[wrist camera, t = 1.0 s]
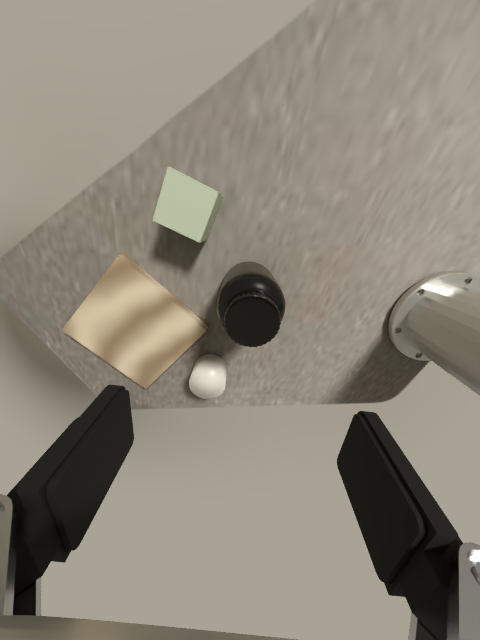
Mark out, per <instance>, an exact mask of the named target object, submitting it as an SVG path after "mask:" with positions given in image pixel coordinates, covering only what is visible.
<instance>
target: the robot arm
mask: <svg viewBox="0 0 480 640" xmlns="http://www.w3.org/2000/svg"><path fill="white" fill-rule="evenodd" d="M388 330H389V336H390V339H391V342H392V343H393V345H394V346H395V347H396V348H397V349H398V350H399V351H400V352H401V353H403V354H404V355H405V356H407V357H409V358H412V359H415V360H420V361H433V362H434V363H436V364H437V365H438V366H440V367H441V368H443V369H444V370H445V371H447V372H448V373H449V374H451V375H452V376H454V377H455V378H456V379H458V380H459V381H460V382H462V383H463V384H464V385H466V386H468V387H469V388H470V389H471V390H473V391H474V392H476V393H477V394H478V395H480V278H479V277H477V276H474V275H471V274H467V273H462V272H444V273H438V274H435V275H432V276H429V277H427V278H425V279H423V280H421V281H419V282H418V283H417V284H415V285H414V286H412V287H411V288H410V289H409V290H408V291H407V292H405V293H404V294H403V295H402V297H401V298H400V299H399V300H398V302H397V303H396V305H395V307H394V309H393V310H392V313H391V316H390V319H389V325H388ZM133 440H134V434H133V424H132V416H131V406H130V397H129V391H128V390H125V387H124V386H117V385H108V386H107V387H106V388H105V389H104V390H103V391H102V392H101V393H100V394H99V396H98V397H97V398H96V399H95V400H94V401H93V402H92V403H91V405H90V406H89V407H88V408H87V409H86V410H85V412H84V413H83V414H82V415H81V416H80V417H79V418H77V419H75V420H74V421H73V422H72V423H71V424H70V425H69V426H68V428H67V429H66V430H65V431H64V432H63V433H62V434H61V436H60V437H59V438H58V439H57V440H56V441H55V442H54V443H53V445H52V446H51V447H50V448H49V449H48V450H47V451H46V452H45V453H44V454H43V456H42V457H41V458H40V459H39V460H38V461H37V462H36V463H35V464H34V466H33V467H32V468H31V469H30V470H29V471H28V472H27V473H26V475H25V476H24V477H23V478H22V479H21V480H20V481H19V483H18V484H17V485H16V486H15V487H14V488H13V489H12V490H11V491H10V492H9V494H8V495H7V496H5V495H0V640H295V639H286V638H276V637H265V636H255V635H246V634H236V633H226V632H216V631H206V630H196V629H186V628H175V627H165V626H154V625H143V624H131V623H121V622H111V621H101V620H89V619H75V618H61V617H47V616H41V576H42V575H43V573H44V572H45V570H46V569H47V567H48V565H49V563H50V562H51V561H56V562H65V561H66V559H67V557H68V555H69V554H70V552H71V550H75V549H76V548H77V547H78V546H79V544H80V543H81V541H82V539H83V537H84V535H85V533H86V531H87V529H88V528H89V526H90V524H91V522H92V520H93V518H94V516H95V514H96V513H97V510H98V509H99V507H100V505H101V503H102V501H103V499H104V497H105V495H106V494H107V492H108V490H109V488H110V486H111V484H112V482H113V480H114V478H115V477H116V475H117V473H118V471H119V469H120V467H121V465H122V463H123V461H124V460H125V458H126V456H127V454H128V452H129V450H130V448H131V446H132V444H133ZM337 465H338V469H339V472H340V475H341V477H342V480H343V483H344V486H345V488H346V491H347V494H348V497H349V499H350V502H351V505H352V508H353V510H354V513H355V516H356V519H357V521H358V524H359V527H360V529H361V532H362V535H363V538H364V540H365V543H366V546H367V548H368V551H369V554H370V557H371V560H372V562H373V565H374V568H375V571H376V573H377V575H378V577H379V579H380V580H381V581H382V582H384V583H385V586H386V589H387V591H388V594H389V595H392V596H403V597H406V599H407V602H408V604H409V606H410V609H411V611H412V613H411V621H410V629H409V637H408V640H480V545H478V544H475V543H464V544H463V542H462V541H461V540H460V538H459V537H458V534H457V532H456V530H455V529H454V527H453V526H452V524H451V523H450V522H449V520H448V519H447V517H446V516H445V514H444V513H443V511H442V510H441V508H440V507H439V505H438V504H437V502H436V501H435V499H434V498H433V496H432V495H431V493H430V492H429V490H428V489H427V488H426V486H425V484H424V483H423V481H422V480H421V478H420V477H419V476H418V474H417V473H416V471H415V470H414V469H413V467H412V465H411V464H410V462H409V461H408V459H407V458H406V456H405V455H404V453H403V452H402V450H401V449H400V447H399V446H398V444H397V443H396V442H395V440H394V439H393V437H392V436H391V434H390V433H389V431H388V430H387V428H386V427H385V425H384V424H383V422H382V421H381V419H380V418H379V416H378V415H377V414H376V413H373V412H364V411H360V412H358V414H355V415H354V417H353V419H352V422H351V424H350V427H349V429H348V432H347V435H346V437H345V440H344V442H343V445H342V448H341V450H340V453H339V455H338V458H337Z"/></svg>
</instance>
